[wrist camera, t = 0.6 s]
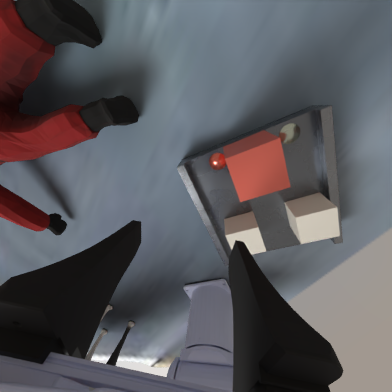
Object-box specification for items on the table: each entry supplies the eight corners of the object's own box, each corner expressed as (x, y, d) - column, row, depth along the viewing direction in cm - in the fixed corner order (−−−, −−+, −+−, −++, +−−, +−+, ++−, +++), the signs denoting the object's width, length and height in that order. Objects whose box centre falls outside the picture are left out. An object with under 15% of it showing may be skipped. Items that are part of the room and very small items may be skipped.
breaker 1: (260, 233, 21) (266, 251, 18) (233, 239, 22) (235, 257, 19) (252, 211, 20) (258, 227, 17) (224, 219, 21) (225, 235, 18)
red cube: (273, 168, 17) (290, 187, 13) (235, 181, 18) (240, 202, 14) (264, 130, 16) (280, 137, 12) (223, 146, 17) (224, 159, 13)
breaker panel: (327, 225, 22) (342, 242, 19) (224, 249, 26) (225, 265, 23) (312, 105, 16) (331, 105, 13) (182, 159, 20) (176, 167, 17)
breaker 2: (322, 218, 19) (339, 236, 16) (290, 226, 20) (301, 244, 17) (319, 192, 18) (337, 207, 15) (284, 202, 19) (295, 217, 16)
